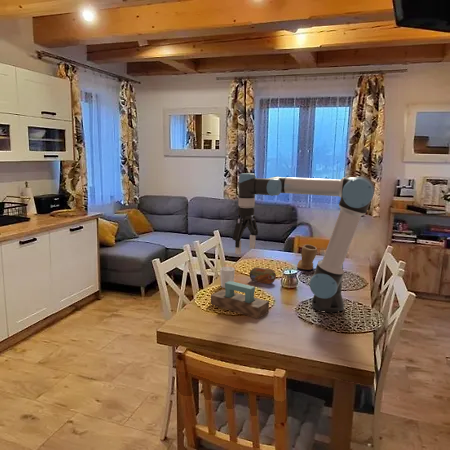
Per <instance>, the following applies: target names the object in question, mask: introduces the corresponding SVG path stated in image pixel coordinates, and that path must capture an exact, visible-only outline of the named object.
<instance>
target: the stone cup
mask: <svg viewBox="0 0 450 450" xmlns="http://www.w3.org/2000/svg"><path fill="white" fill-rule="evenodd" d="M317 252H318V248H317V247H316V246H314V245H312V244H309V243H308V244H304V245H303V246H302V247H301V255H300V256H301V259H300V260H299V261H298V262H297V265H296V267H297V268H298V269H299V270H306V271H307V270H308V271H309V270H313V267H314V260H315V258H316V256H317Z"/></svg>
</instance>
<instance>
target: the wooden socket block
mask: <svg viewBox="0 0 450 450" xmlns="http://www.w3.org/2000/svg"><path fill="white" fill-rule="evenodd" d="M211 304H212V305H215V306H214V307H216V306H218V307H217V308H219V307H221V308H220V309H223V308H224V309H223V310H226V309H227V311H231V312H234V313H236V314H240V315H244V316H246V317H247V316H248V317H250V318H254V319H259V318H260V317H263V316H264V315H266V314H268V313H269V309H270V301H269V300H264V299H261V298H257V297H254V301H253V302H252V303H246V302H245V294H243V293H238V292H235V291H234V296H233V297H231V298H228V297H225V289H221V290H219V291H217V292H214V293H212V294H211V295H210V305H211ZM212 305H211V306H212Z"/></svg>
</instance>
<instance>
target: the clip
mask: <svg viewBox="0 0 450 450" xmlns="http://www.w3.org/2000/svg"><path fill="white" fill-rule="evenodd" d="M224 290H225V297H228V298H231V297H233V296H234V292H235V291H236V292H240V293H242V294H243V293H244V295H245V302H246V303H252V302H253V301H254V298H255V293H256V286H253V285H248V284H245V283H241V282H236V281H234V282H233V281H228V282H226V283H225V288H224Z"/></svg>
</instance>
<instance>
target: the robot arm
mask: <svg viewBox="0 0 450 450" xmlns="http://www.w3.org/2000/svg"><path fill="white" fill-rule="evenodd" d="M237 184H238V199H237V201H238V208H237V209H238V210H237V214H238V216H240V218H236V219H235V220H236V223H235V227H234V231H233V234H232V237H231V238H232V241H234V242H235V245H234V251H235V255H240V256H241V255H242V240H241V239H242V237H243V235H244V234H243V233H244V231H245V229H247V228H248V231H249V233H250V235H249V249H250V250H251V249H252V250H255V249H256V236H258V234H259V230H258V226H257V221H256V215H255V204H256V203H255V202H256V201H255V200H256V199H255V195H256V196H257V195H258V196H259V195H260V196H261V195H262V196H271V197H274V196H279V195H281V194H292V195H293V194H294V195H296V194H297V195H308V196H309V195H310V196H325V197H326V196H327V197H339V198H340V200H339V203H338V207H339V209H340V211H339V213H338V216H337V219H336V222H335V224H334V227H333V230H332V233H331V236H330V237H329V238H330V239H329V242H328V244H327V247H326V250H325V252H324V255H323V258H322V259H319V260H318V262H317V264H316V267H315V268H314V269H315V270H314V272H313V276H312V277H311V278H310V280H309V289H310V291H311V292H312V294H313V297H312V299H311V303H310V304H311V305H312V306H311V308H312V307H313V308H312V309H314V308H315V309H317V310H320V311H325V312H338V311H342V310H343V309H345V303H344V299H343V295H342V286H343V275H344V273H345V271H344V262H345V259H346V257H347V255H348V251H349V249H350V247H351V243H352V240H353V238H354V236H355V233H356V230H357V228H358V226H359V223H360V220H361V217H362V216H364V215H366V214H367V213H368V211H369V207H370V205H371V201H372V199H373V197H374V195H375V191H376V188H375V184H374V182H373V181H372V180H371V179H370V178H368V177H366V176H360V175H359V176H353V177H345V176H344V177H342V178H341V179H335V178H333V179H331V178H311V177H289V176H287V177H285V176H284V177H283V176H273V177H267V178H261V177H256V174H255V173H249V172H246V173H245V172H244V173H243V172H242V173H240V174H239V175H238V183H237ZM315 309H314V310H315ZM317 310H316V311H317ZM320 311H319V312H320ZM343 311H344V310H343ZM343 311H342V312H343ZM325 312H324V313H325Z"/></svg>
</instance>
